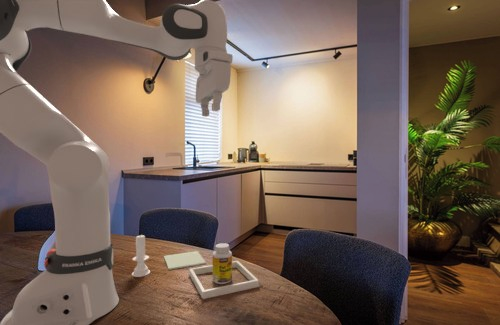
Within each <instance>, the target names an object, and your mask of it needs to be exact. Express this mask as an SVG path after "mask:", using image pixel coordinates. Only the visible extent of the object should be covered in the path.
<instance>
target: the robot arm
mask: <svg viewBox="0 0 500 325" xmlns="http://www.w3.org/2000/svg"><path fill="white" fill-rule="evenodd" d="M226 16H227V15H226V12H225V9H224V8H223V6H222V5H220V4H219V3H218V2H216V1H214V0H200V1H199V2H197V3H195V4H188V5H187V4H186V5H185V4H181V3H173V4H170V5H169V6H167V7H166V8H165V9H164V10H163V13H162V15H161V19H160V22H159V25H158V26H153V25H149V24H145V23H141V22H138V21H134V20H130V19H127V18H125V17H123V16H121V15H119V14H118V13H117V12H115V10H113V9H112V7H111V6H110V4H108V2H107V1H106V0H0V134H1V135H2V136H4V137H5V138H6V139H7V140H9V141H10V142H11V143H12V144H13V145H15V146H16V147H18V148H20V149H22V150H23V151H25V152H26V153H28V154H29V155H30V156H32V157H33V158H35V159H36V160H38V161H40V163H42V164H44V165H45V166H46V168H47V169H46V171H47V174H48V183H49V190H50V192H49V193H50V198H51V204H52V208H53V215H54V226H55V227H54V232H55V234H54V235H55V236H54V238H55V248H51V249H49V251H48V252H46V257H45V258H44V262H43V263H44V264H43V265H44V268H45V269H44V270H43V271H42V272H40V274H39V275H37V276H36V277H34V278H33V279H32V280H31V281H29V282H28V283H27V284H26V285H25V286H24V287H23V288H22V289H21V290H20V291H19V293H18V294H17V295H16V298H15V300H14V303H13V307H12V309H11V310H10V311H9V312H8V313H7V314H5V316H4V317H3V318H2V320H1V321H0V325H90V324H91V323H93V322H94V321H96V320H98V319H99V318H101V317H103V316H105V315H106V314H108V313H109V312H111V311H112V310H113V309H114V308H116V307H117V305H118V303H119V301H120V298H119V296H118V292H117V288H116V286H115V281H114V276H113V267H114V249H113V243H111V211H110V194H109V191H110V190H109V171H110V166H111V163H110V159H109V157H108V155H107V153H106V152H105V151H104V150H103V149H102V148H101V147H100V146H99V145H98V144H97V143H96V142H94V141H93V140H92V139H91V138H90V137H89V136H88V135H87V134H86V133H84V132H83V131H82V130H81V129H80V128H79V127H78V126H76V124H74V123H73V122H72V121H71V120H70V119H69V118H67V116H65V115H64V114H63V113H62V112H61V111H60V110H59V109H57V108H56V106H54V105H53V104H52V103H51V102H50V101H49V100H48V99H47V98H45V96H44V95H42V94H41V93H40V92H39V91H38V90H37V89H36V88H35V87H33V86H32V85H31V84H30V83H29V82H28V81H27V80H25V79H24V78H23V77H22V76H21V75H20V74H19V73H18V72H17V71H18V70H19V69H20V67H21V65H22V64H23V63H24V62H25V61H26V60H27V59H28V58H29V57H30V54H31V52H32V42H31V38H30V35H29V33H27V32H28V31H31V30H33V29H39V28H44V29H45V28H46V29H47V28H49V29H54V30H58V31H59V30H60V31H64V32H69V33H75V34H81V35H87V36H91V37H97V38H101V39H105V40H109V41H112V42H116V43H119V44H124V45H127V46H128V45H129V46H132V47H137V48H141V49H145V50H149V51H152V52H155V53H156V54H158V55H161V56H162V57H164V58H166V59H168V60H171V61H180V60H183V59H185V58H186V57H187V56H188V55H189V53H190V51H191V49H193V50H194V69H195V71H196V72H198V73H199V74H198V77H197V78H196V84H195V103H197V104H200V108H201V116H202V117H206V118H207V117H208V116H210V110H209V104H210V102H211V101H212V103H211V110H212V111H213V112H218V111H220V110H221V103H222V98H223V93H224V92H227V91H228V90H229V88H230V85H231V75H232V74H231V71H232V65H231V64H232V63H233V58H234V57H233V54H231V53H228V51H227V48H226V47H227V46H226V45H227V40H228V25H227V24H228V23H227V17H226Z"/></svg>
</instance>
